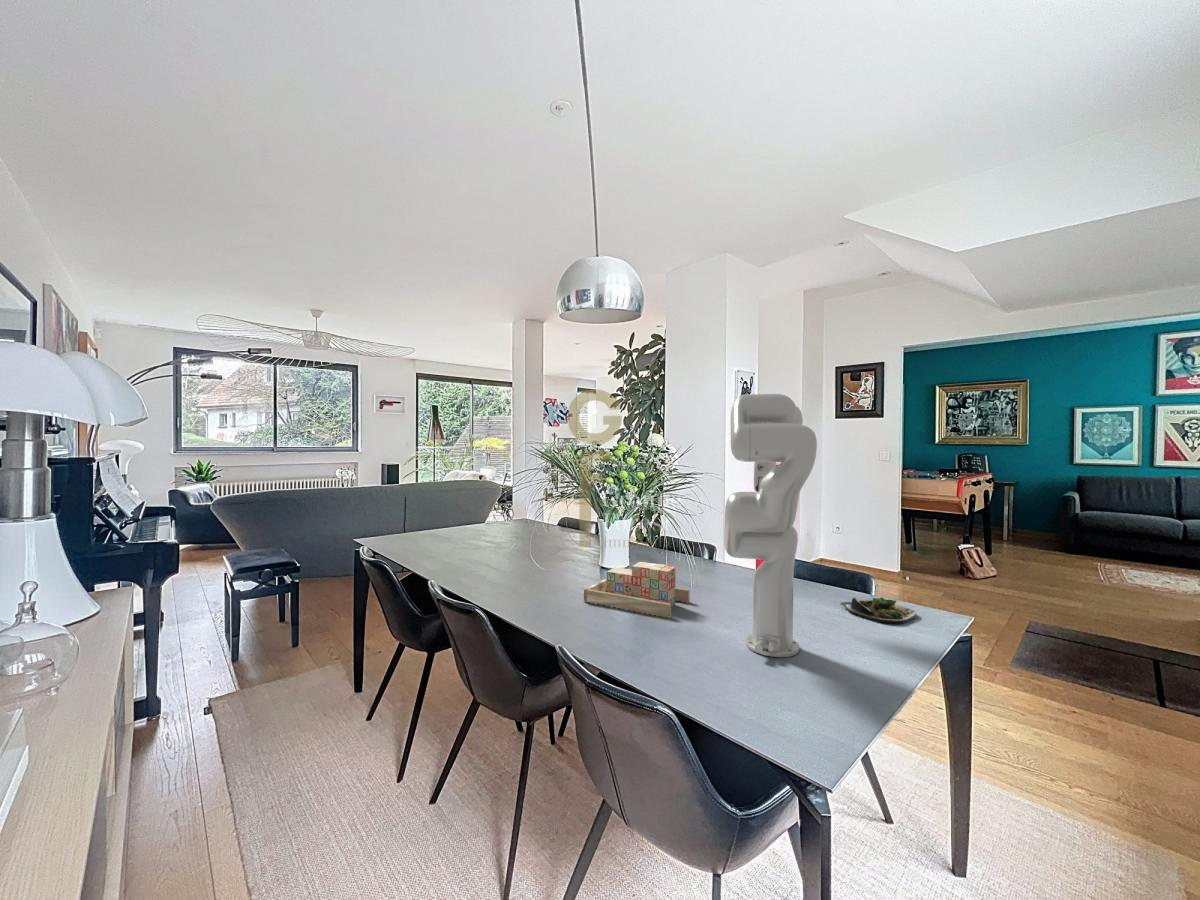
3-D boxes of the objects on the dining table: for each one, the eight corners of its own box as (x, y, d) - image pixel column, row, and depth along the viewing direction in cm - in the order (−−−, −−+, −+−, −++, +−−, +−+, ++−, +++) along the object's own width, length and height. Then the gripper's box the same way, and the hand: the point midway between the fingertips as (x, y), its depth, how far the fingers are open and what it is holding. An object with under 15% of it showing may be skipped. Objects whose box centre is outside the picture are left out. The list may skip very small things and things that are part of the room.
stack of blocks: (606, 599, 166) (606, 562, 166) (615, 594, 172) (615, 557, 171) (668, 611, 155) (668, 570, 155) (675, 605, 161) (675, 566, 160)
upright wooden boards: (669, 618, 149) (669, 604, 149) (583, 602, 164) (583, 589, 164) (689, 602, 163) (689, 589, 163) (609, 588, 178) (609, 576, 178)
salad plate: (869, 599, 166) (869, 585, 166) (929, 615, 152) (929, 600, 151) (833, 610, 156) (834, 595, 156) (894, 629, 141) (894, 613, 141)
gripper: (772, 454, 145) (771, 519, 146) (782, 452, 158) (782, 512, 159) (745, 454, 149) (745, 517, 150) (757, 452, 162) (757, 510, 163)
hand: (764, 514), depth 154 cm, fingers closed
